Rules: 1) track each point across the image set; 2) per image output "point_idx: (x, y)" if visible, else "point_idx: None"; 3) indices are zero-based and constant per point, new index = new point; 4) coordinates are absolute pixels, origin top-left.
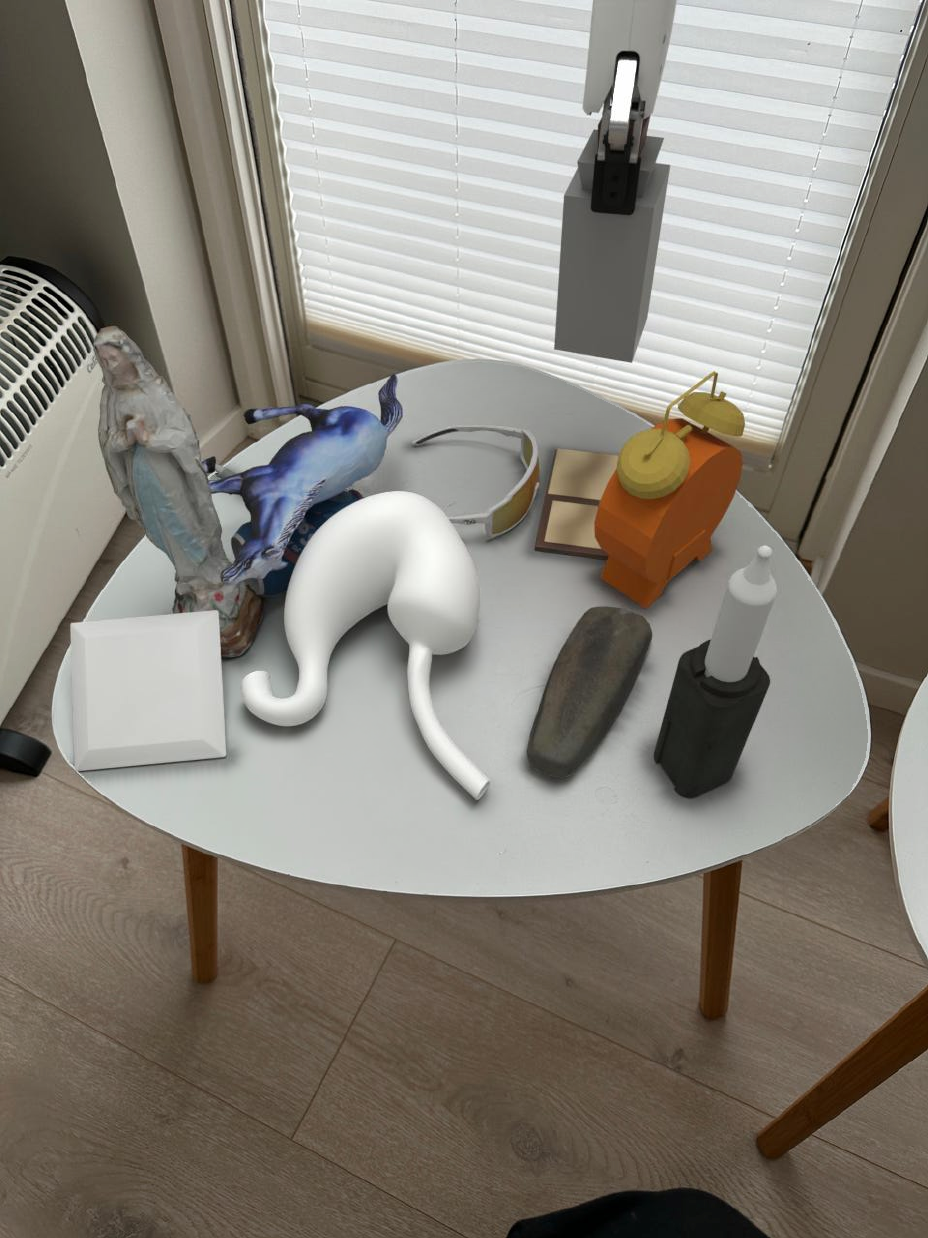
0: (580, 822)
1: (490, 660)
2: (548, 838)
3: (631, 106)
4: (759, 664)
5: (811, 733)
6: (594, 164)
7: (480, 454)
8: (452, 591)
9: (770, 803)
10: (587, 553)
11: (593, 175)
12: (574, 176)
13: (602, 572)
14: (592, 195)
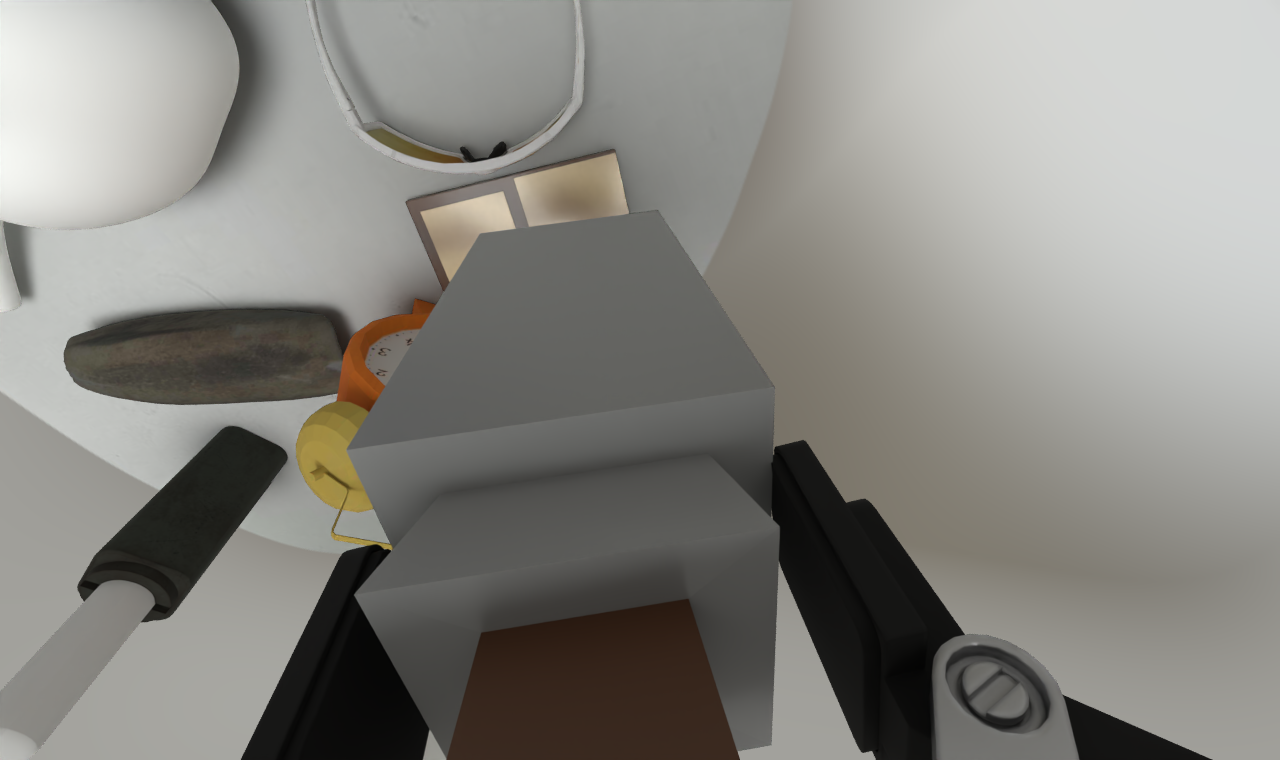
0: (96, 394)
1: (194, 222)
2: (50, 374)
3: (892, 740)
4: (157, 618)
5: (357, 523)
6: (247, 749)
7: (557, 16)
8: (2, 214)
9: (262, 516)
10: (436, 273)
11: (276, 687)
12: (538, 426)
13: (416, 302)
14: (320, 602)
